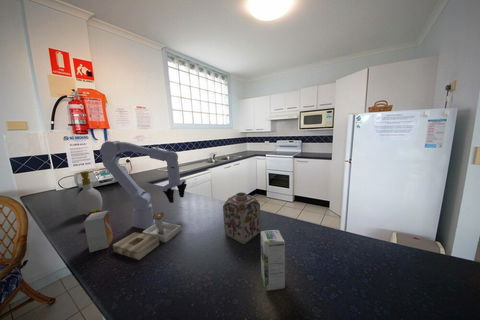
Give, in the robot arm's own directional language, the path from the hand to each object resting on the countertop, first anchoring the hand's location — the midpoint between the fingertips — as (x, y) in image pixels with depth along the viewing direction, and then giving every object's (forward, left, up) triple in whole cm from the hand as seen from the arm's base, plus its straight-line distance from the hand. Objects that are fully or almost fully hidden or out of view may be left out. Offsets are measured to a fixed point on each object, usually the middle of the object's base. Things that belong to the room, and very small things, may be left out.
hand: (176, 199), depth 89 cm
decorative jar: (+38, -3, -11) cm, 40 cm away
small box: (-16, -28, -11) cm, 34 cm away
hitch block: (+1, -25, -10) cm, 27 cm away
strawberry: (-38, -18, -11) cm, 43 cm away
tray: (+3, -14, -10) cm, 18 cm away
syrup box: (+55, -23, -11) cm, 61 cm away
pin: (+3, -15, -10) cm, 18 cm away
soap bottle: (-57, -10, -11) cm, 59 cm away
